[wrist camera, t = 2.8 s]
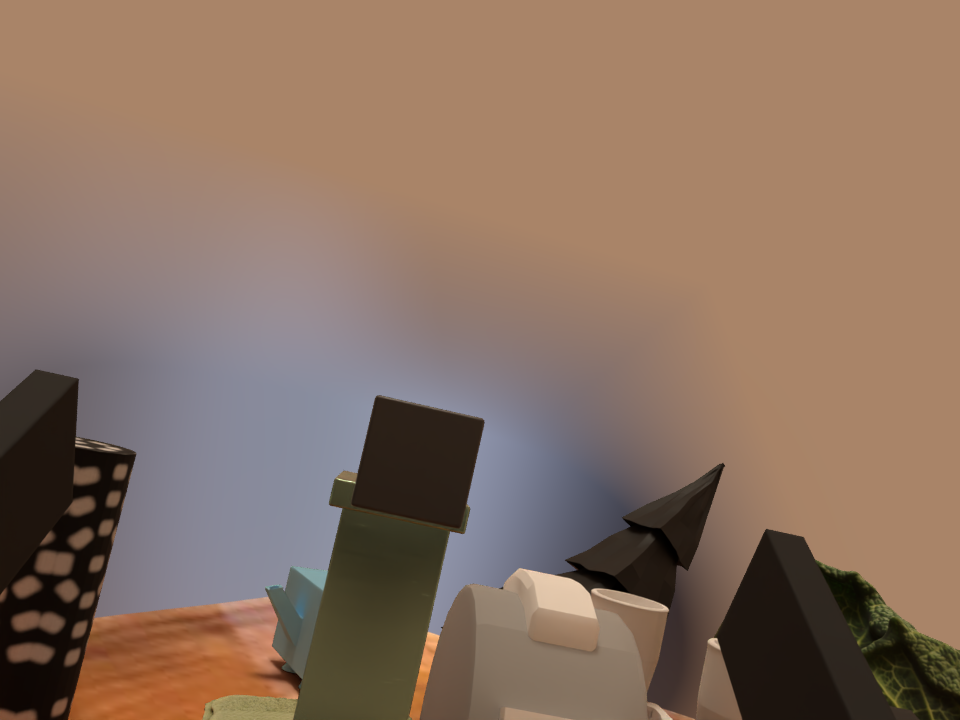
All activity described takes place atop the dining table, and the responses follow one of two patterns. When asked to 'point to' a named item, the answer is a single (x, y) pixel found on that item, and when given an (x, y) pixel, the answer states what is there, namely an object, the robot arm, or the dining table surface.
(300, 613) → the teapot
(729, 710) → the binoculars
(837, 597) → the cabbage
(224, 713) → the washcloth
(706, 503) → the decorative tree
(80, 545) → the white-spotted black cylinder
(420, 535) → the olive green post
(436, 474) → the bar
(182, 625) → the dining table surface
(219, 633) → the dining table surface
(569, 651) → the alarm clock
